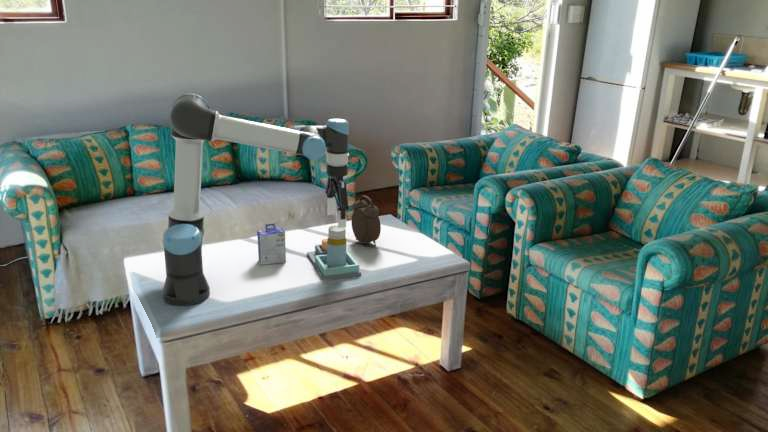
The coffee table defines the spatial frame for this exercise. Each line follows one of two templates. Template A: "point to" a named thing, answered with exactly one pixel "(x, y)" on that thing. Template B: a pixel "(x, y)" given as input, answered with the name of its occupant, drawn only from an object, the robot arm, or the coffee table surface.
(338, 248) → the bottle
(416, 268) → the coffee table surface
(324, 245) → the button
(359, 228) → the alarm clock
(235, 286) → the coffee table surface
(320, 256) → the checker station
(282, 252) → the ink cartridge box
